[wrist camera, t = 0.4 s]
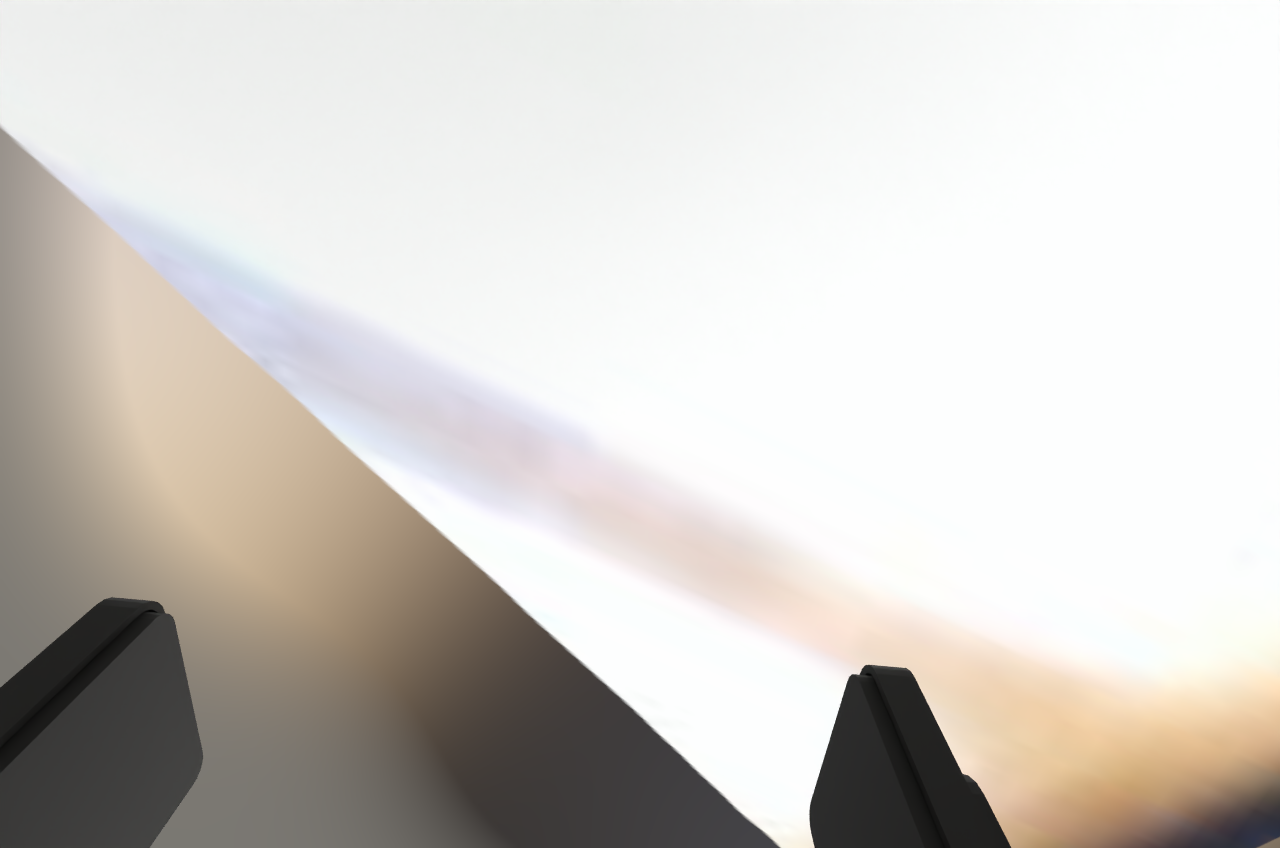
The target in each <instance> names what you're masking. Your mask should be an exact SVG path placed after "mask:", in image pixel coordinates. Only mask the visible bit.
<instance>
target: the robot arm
mask: <svg viewBox="0 0 1280 848" xmlns="http://www.w3.org/2000/svg"><path fill="white" fill-rule="evenodd" d="M202 760H203V752H202V747H201V742H200V738H199V733H198V728H197V723H196V719H195V714H194V709H193V705H192V700H191V695H190V691H189V686H188V681H187V677H186V672H185V667H184V663H183V658H182V653H181V649H180V644H179V639H178V635H177V631H176V625H175V622H174V619H173V617H172V616H171V615H170V614H166V613H165V612H164V609H163V607H162V605H160V604H159V603H158V602H155V601H146V600H135V599H124V598H108V599H104V600H103V601H102V602H100V603H98V604H97V605H96V606H94V607H93V608H92V609H91V610H90V611H89V612H87V613H86V614H85V615H84V616H83V617H82V618H81V619H79V620H78V621H77V622H76V623H75V624H74V625H72V626H71V627H70V628H69V629H68V630H67V631H66V632H64V633H63V634H62V635H61V636H60V637H59V638H57V639H56V640H55V641H54V642H53V643H52V644H50V645H49V646H48V647H47V648H46V649H45V650H44V651H42V652H41V653H40V654H39V655H38V656H36V658H34V659H33V660H32V661H31V662H30V663H28V664H27V665H26V666H25V667H24V668H23V669H21V670H20V671H19V672H18V673H17V674H16V675H15V676H13V677H12V678H11V679H10V680H9V681H8V682H6V683H5V684H4V685H3V686H2V687H1V688H0V848H150V846H151V845H152V843H153V842H154V840H155V839H156V837H157V836H158V834H159V833H160V832H161V830H162V829H163V827H164V825H165V824H166V823H167V822H168V820H169V819H170V817H171V816H172V814H173V813H174V811H175V810H176V809H177V807H178V806H179V804H180V803H181V801H182V800H183V798H184V797H185V795H186V794H187V793H188V791H189V790H190V788H191V787H192V785H193V784H194V782H195V780H196V779H197V777H198V774H199V772H200V769H201V765H202ZM810 828H811V834H812V838H813V842H814V846H815V848H1011V846H1010V844H1009V842H1008V840H1007V838H1006V836H1005V835H1004V833H1003V831H1002V829H1001V827H1000V825H999V823H998V821H997V819H996V817H995V815H994V813H993V811H992V809H991V807H990V805H989V803H988V801H987V799H986V797H985V795H984V794H983V792H982V791H981V789H980V788H979V786H978V784H977V783H976V782H975V781H974V780H973V779H972V778H970V777H969V776H968V775H964V774H962V772H961V770H960V768H959V766H958V764H957V762H956V760H955V758H954V756H953V754H952V752H951V750H950V748H949V746H948V744H947V742H946V740H945V738H944V736H943V734H942V732H941V730H940V728H939V726H938V724H937V722H936V720H935V718H934V716H933V714H932V712H931V709H930V707H929V705H928V703H927V701H926V699H925V697H924V695H923V693H922V691H921V689H920V687H919V685H918V683H917V681H916V679H915V677H914V676H913V674H912V673H911V671H910V670H908V669H907V668H898V667H887V666H876V665H865V666H864V667H863V668H862V671H861V673H860V675H856V674H852V675H851V676H850V677H849V679H848V681H847V685H846V688H845V691H844V695H843V698H842V701H841V704H840V708H839V711H838V714H837V718H836V721H835V724H834V727H833V731H832V734H831V737H830V741H829V744H828V747H827V750H826V754H825V757H824V760H823V764H822V767H821V770H820V773H819V777H818V780H817V783H816V787H815V790H814V793H813V796H812V800H811V804H810Z"/></svg>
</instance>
